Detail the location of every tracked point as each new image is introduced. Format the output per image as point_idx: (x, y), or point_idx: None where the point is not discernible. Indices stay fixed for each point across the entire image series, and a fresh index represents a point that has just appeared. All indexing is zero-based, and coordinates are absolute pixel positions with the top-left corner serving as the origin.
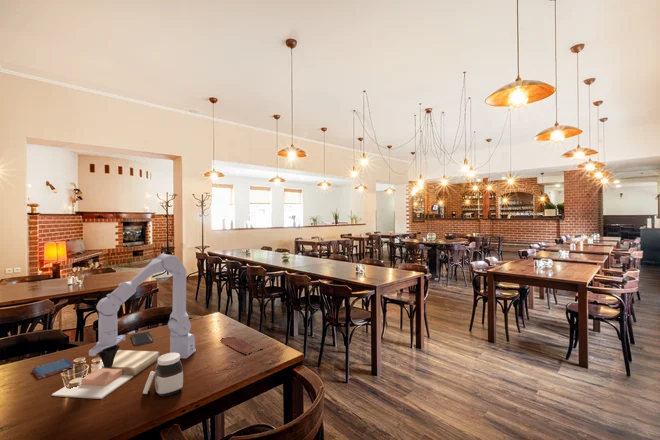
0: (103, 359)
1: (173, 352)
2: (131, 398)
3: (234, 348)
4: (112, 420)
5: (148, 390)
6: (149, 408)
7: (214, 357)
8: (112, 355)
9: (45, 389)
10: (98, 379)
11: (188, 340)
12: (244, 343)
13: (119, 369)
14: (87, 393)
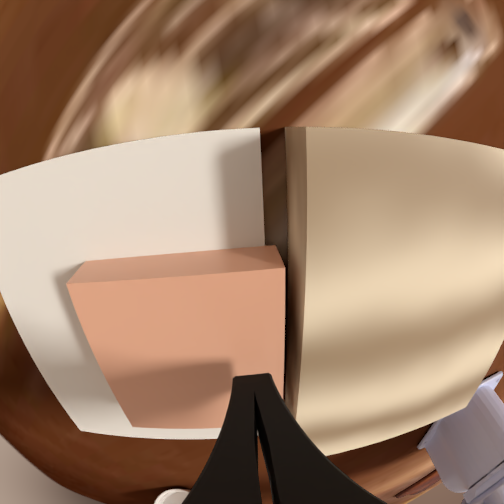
0: (228, 450)
1: (448, 431)
2: (136, 477)
3: (434, 473)
4: (61, 470)
5: (183, 494)
6: (130, 500)
7: (402, 476)
8: (273, 502)
9: (15, 47)
10: (120, 397)
11: (450, 488)
12: None
13: None
14: (58, 372)
